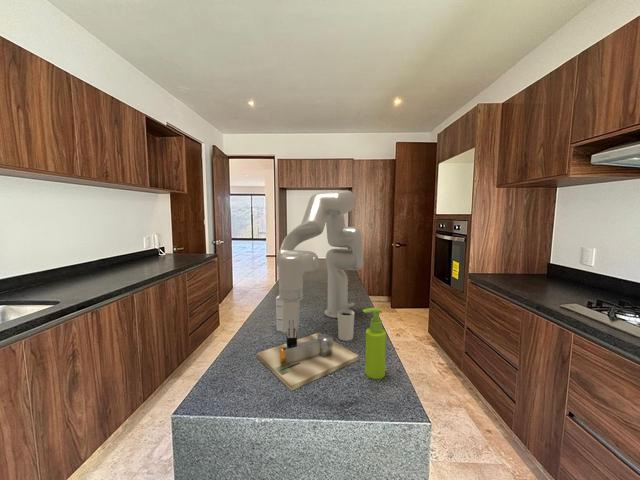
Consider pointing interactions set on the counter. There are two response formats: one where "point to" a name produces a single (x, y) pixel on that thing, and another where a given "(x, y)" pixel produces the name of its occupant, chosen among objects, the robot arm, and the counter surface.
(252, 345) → the counter surface
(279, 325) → the syrup box
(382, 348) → the soap dispenser
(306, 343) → the lever
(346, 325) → the white cup
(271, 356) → the dial board
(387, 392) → the counter surface
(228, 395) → the counter surface
